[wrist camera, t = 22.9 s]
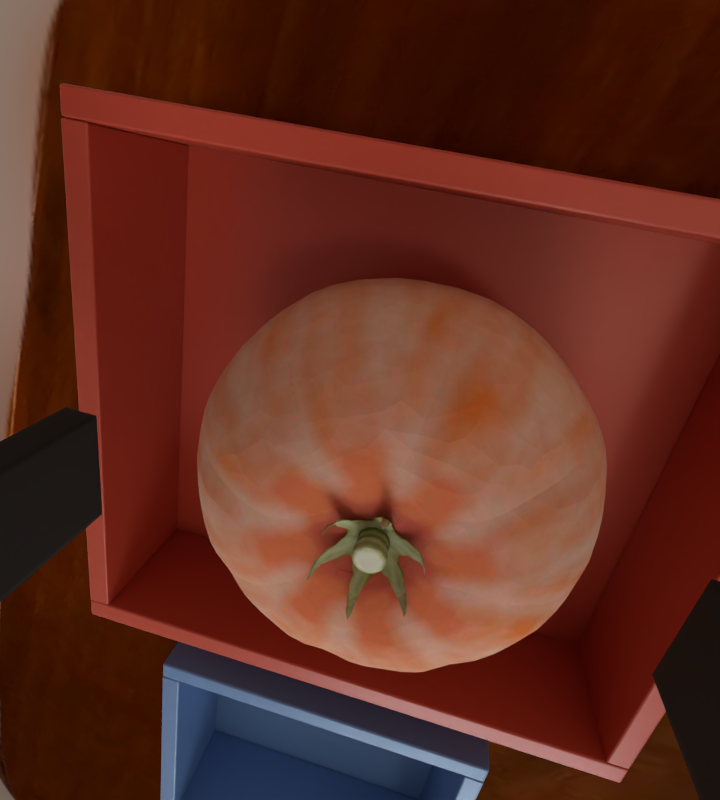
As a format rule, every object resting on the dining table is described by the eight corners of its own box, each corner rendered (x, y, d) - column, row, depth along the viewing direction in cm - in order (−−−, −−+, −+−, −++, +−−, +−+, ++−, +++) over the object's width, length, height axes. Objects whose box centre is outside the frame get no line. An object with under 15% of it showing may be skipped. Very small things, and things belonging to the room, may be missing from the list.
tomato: (640, 337, 15) (813, 467, 7) (486, 588, 19) (498, 825, 12) (309, 209, 15) (164, 212, 8) (233, 481, 20) (96, 644, 12)
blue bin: (221, 576, 23) (162, 664, 18) (485, 655, 21) (489, 771, 17) (209, 719, 27) (159, 819, 22) (430, 794, 25) (422, 916, 21)
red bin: (182, 120, 16) (57, 81, 11) (791, 230, 14) (970, 243, 9) (172, 526, 22) (90, 614, 17) (583, 645, 20) (620, 784, 15)
